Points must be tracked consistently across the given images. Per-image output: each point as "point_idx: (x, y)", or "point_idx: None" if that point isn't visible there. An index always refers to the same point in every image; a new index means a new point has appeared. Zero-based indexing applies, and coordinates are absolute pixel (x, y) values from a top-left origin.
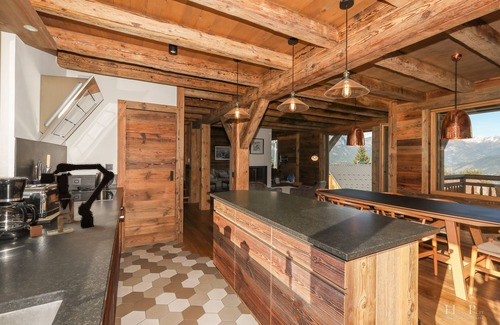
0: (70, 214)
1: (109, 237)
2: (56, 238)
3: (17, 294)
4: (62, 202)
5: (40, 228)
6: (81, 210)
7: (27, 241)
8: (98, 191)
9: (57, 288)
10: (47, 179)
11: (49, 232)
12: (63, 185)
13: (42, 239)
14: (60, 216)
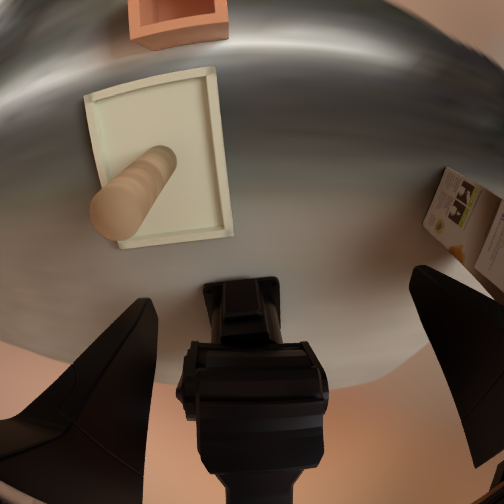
0: (460, 260)
1: (10, 341)
2: (36, 156)
3: None
4: (44, 417)
5: (132, 28)
6: (184, 399)
7: (67, 6)
8: None
9: None
10: None
11: (200, 85)
12: None
13: (55, 77)
14: (136, 215)
